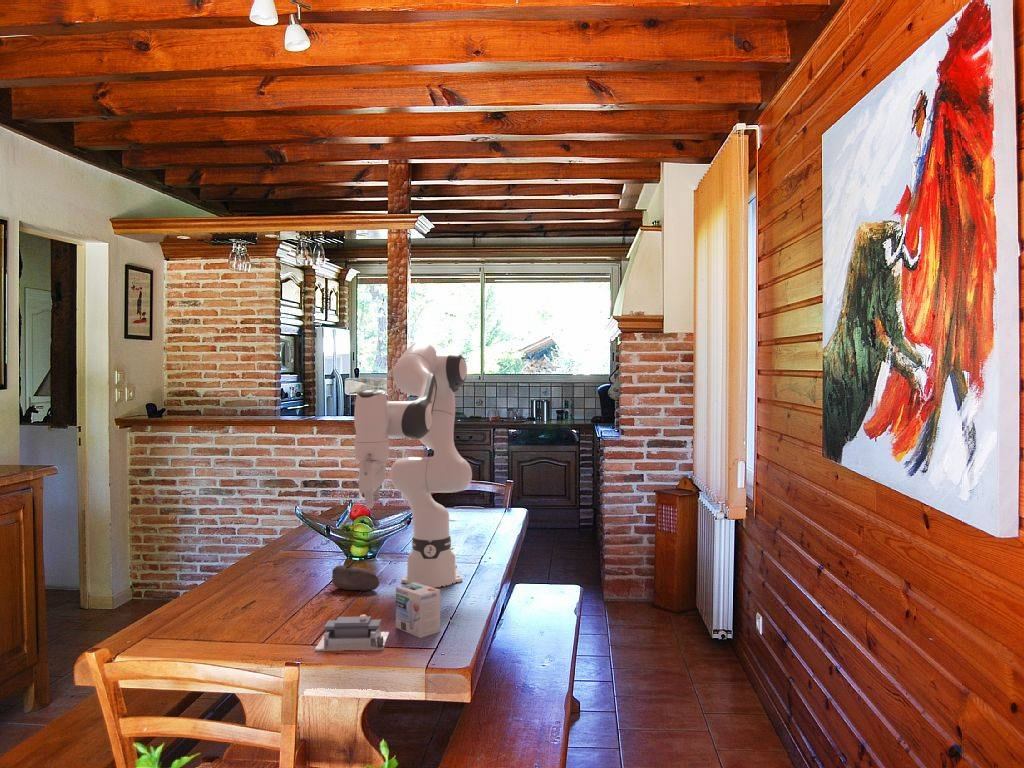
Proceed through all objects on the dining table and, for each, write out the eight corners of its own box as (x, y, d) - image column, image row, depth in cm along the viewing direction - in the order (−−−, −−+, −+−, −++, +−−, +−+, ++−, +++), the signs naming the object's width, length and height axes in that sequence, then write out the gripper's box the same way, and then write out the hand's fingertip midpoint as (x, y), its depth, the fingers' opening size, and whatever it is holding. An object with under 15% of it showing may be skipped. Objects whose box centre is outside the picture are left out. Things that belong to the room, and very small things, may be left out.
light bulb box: (394, 628, 195) (394, 586, 194) (416, 621, 199) (415, 581, 199) (420, 638, 187) (420, 595, 187) (441, 631, 192) (441, 589, 191)
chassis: (325, 634, 190) (325, 620, 190) (389, 633, 190) (389, 619, 190) (314, 651, 179) (314, 635, 179) (382, 650, 179) (382, 634, 179)
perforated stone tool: (383, 589, 228) (382, 566, 228) (374, 594, 224) (374, 571, 223) (340, 585, 234) (339, 563, 233) (330, 590, 229) (330, 567, 228)
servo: (328, 637, 187) (328, 613, 187) (381, 636, 187) (381, 612, 187) (324, 643, 182) (324, 619, 182) (378, 643, 183) (378, 618, 183)
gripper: (378, 456, 186) (378, 512, 187) (389, 447, 207) (390, 498, 207) (352, 456, 186) (353, 513, 187) (366, 448, 207) (366, 498, 207)
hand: (372, 505), depth 197 cm, fingers open, 8 cm apart
